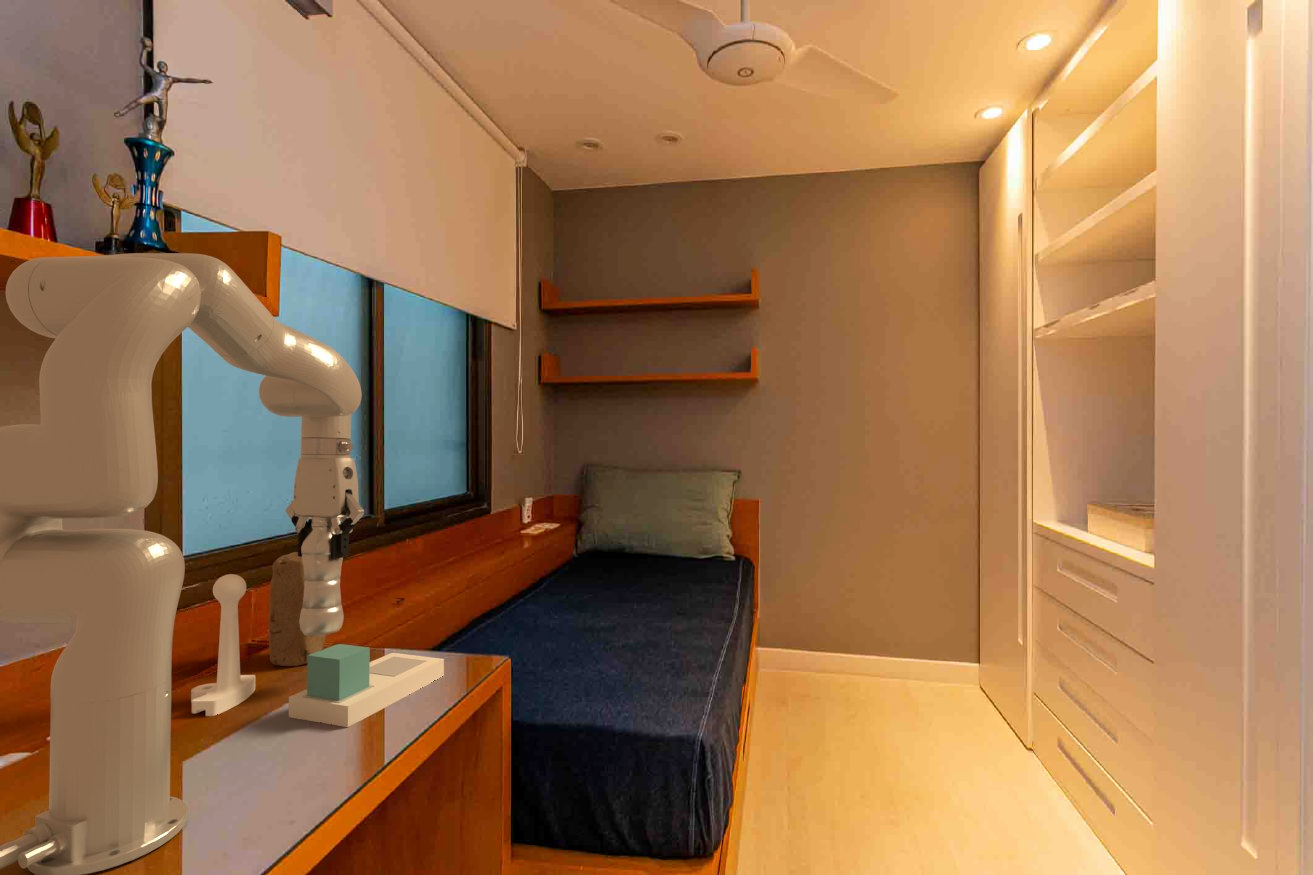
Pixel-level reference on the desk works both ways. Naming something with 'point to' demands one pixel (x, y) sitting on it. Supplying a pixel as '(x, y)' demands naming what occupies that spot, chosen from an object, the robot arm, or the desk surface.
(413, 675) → the board
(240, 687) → the joystick
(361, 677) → the cube
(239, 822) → the desk surface
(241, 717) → the desk surface
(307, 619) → the plastic bottle
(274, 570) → the block
